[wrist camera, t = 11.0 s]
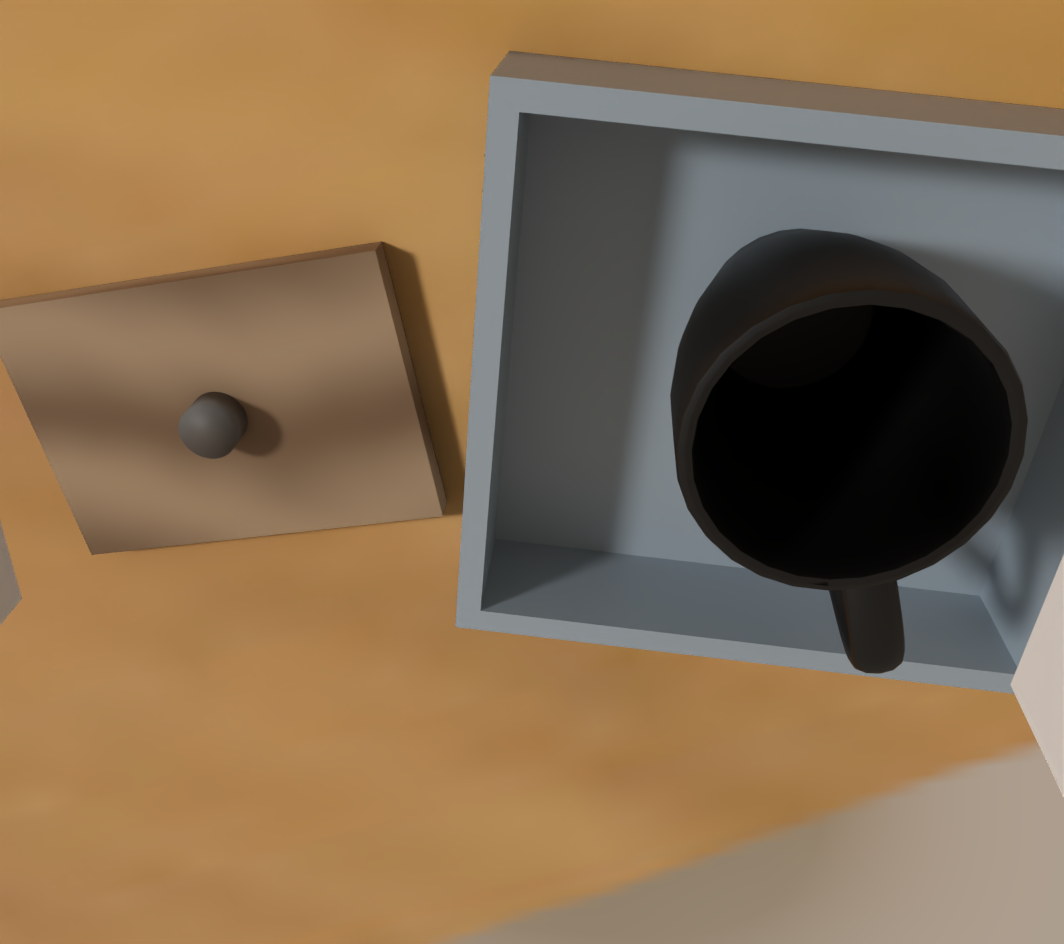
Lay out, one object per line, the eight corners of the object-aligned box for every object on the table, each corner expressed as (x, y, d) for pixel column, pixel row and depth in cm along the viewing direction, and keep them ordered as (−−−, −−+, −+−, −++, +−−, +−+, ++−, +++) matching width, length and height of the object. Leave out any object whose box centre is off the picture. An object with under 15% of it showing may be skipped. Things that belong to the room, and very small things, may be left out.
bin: (509, 50, 29) (490, 75, 25) (1180, 121, 29) (1278, 158, 25) (474, 545, 38) (455, 626, 34) (989, 605, 38) (1037, 696, 33)
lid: (-5, 301, 35) (-41, 324, 33) (381, 241, 33) (366, 262, 31) (103, 540, 39) (76, 572, 38) (446, 502, 37) (437, 534, 35)
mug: (703, 536, 36) (727, 720, 28) (639, 217, 31) (645, 330, 23) (937, 498, 35) (1035, 680, 27) (914, 155, 29) (1027, 251, 21)
